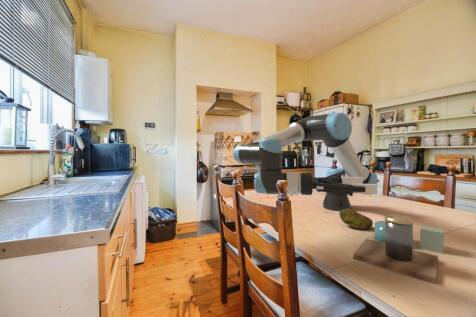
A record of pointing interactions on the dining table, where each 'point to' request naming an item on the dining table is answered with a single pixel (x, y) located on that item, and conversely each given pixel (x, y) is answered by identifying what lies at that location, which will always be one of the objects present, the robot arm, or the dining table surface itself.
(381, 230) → the teal domed cylinder
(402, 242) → the tea tin
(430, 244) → the sage box
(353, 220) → the potato
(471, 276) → the dining table surface
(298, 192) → the robot arm
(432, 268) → the walnut board
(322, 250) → the dining table surface
